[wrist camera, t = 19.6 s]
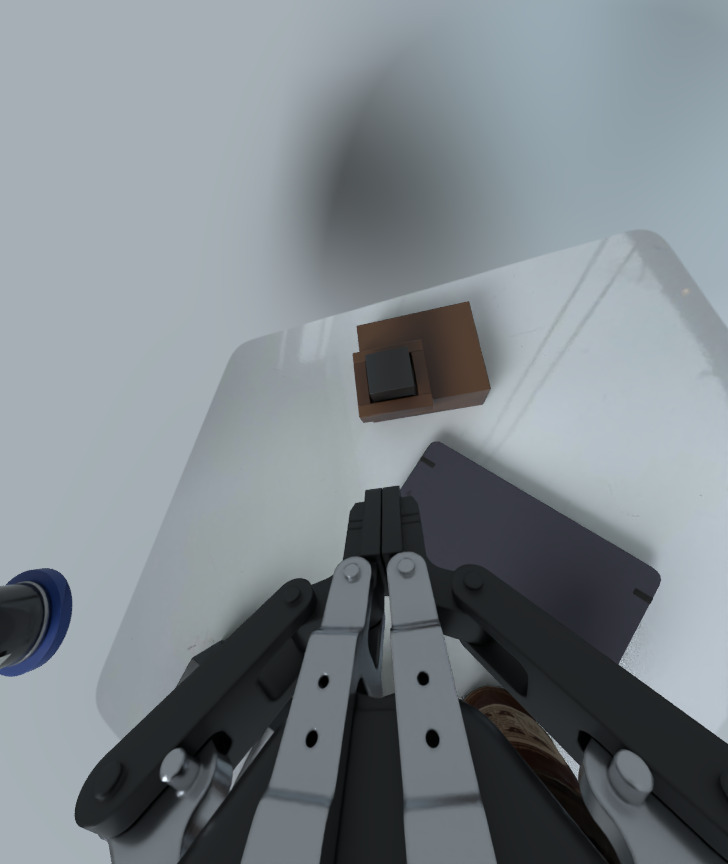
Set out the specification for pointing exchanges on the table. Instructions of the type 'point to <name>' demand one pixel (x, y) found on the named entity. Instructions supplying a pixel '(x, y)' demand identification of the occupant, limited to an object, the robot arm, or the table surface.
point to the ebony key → (389, 374)
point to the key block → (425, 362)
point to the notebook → (530, 549)
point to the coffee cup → (540, 759)
